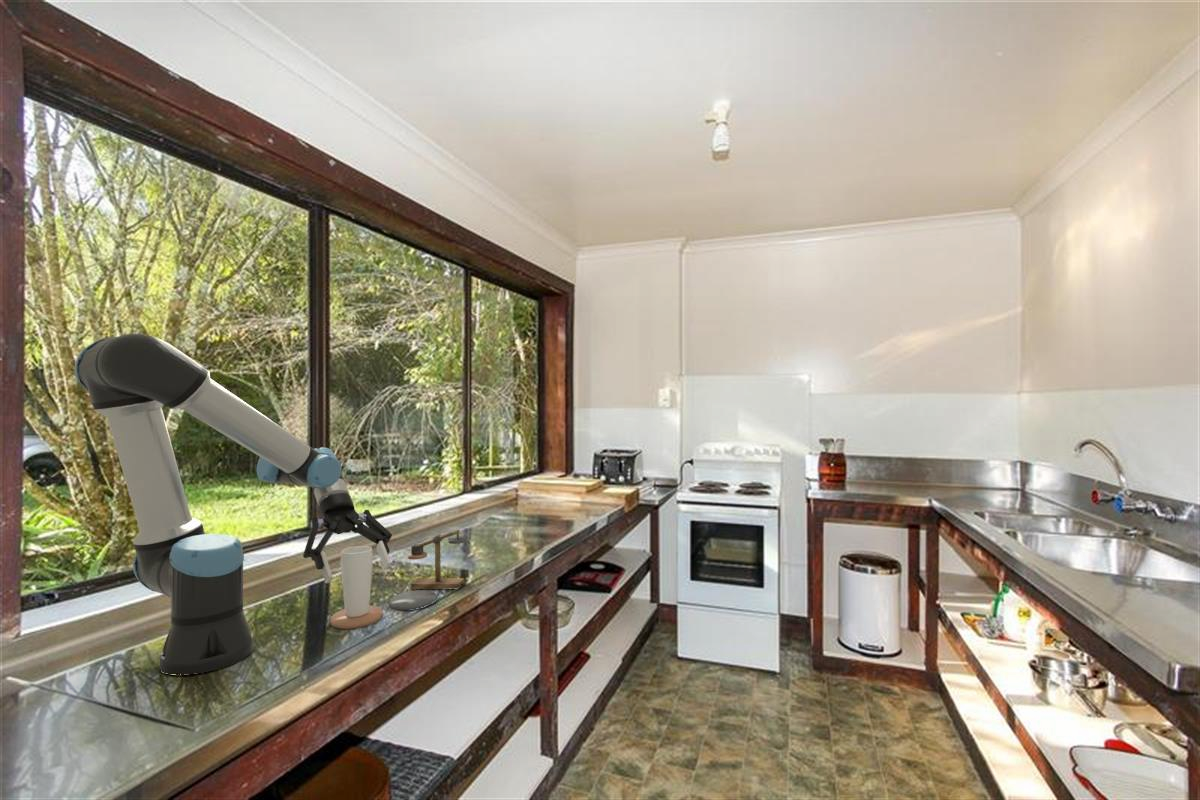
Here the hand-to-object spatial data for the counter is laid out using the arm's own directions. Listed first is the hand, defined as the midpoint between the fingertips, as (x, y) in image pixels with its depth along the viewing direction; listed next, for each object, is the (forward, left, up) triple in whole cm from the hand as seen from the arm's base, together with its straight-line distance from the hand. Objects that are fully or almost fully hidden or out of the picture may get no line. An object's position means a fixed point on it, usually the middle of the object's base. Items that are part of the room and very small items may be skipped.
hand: (359, 572), depth 128 cm
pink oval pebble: (0, 0, -11) cm, 11 cm away
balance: (+11, +23, -11) cm, 27 cm away
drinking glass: (0, 0, -10) cm, 10 cm away
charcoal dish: (+9, +11, -11) cm, 17 cm away
